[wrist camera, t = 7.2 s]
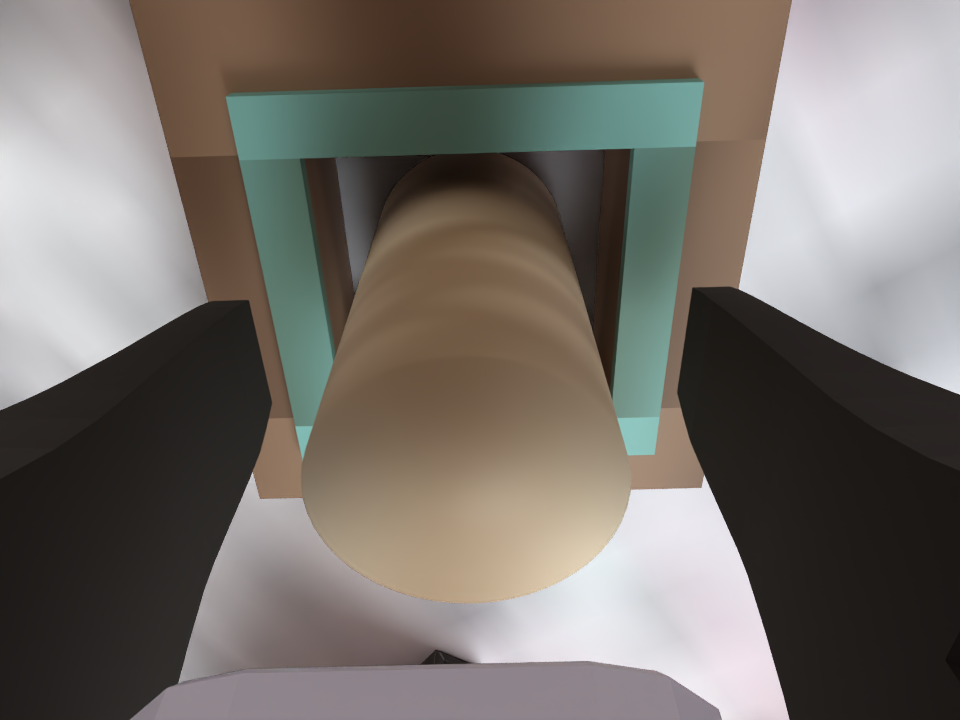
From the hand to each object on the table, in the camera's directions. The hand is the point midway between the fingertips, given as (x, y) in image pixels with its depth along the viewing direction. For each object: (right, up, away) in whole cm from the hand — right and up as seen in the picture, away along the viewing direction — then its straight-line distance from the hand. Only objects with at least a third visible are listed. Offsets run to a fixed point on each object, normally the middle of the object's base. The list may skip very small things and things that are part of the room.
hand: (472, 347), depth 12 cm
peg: (0, +2, +4) cm, 4 cm away
